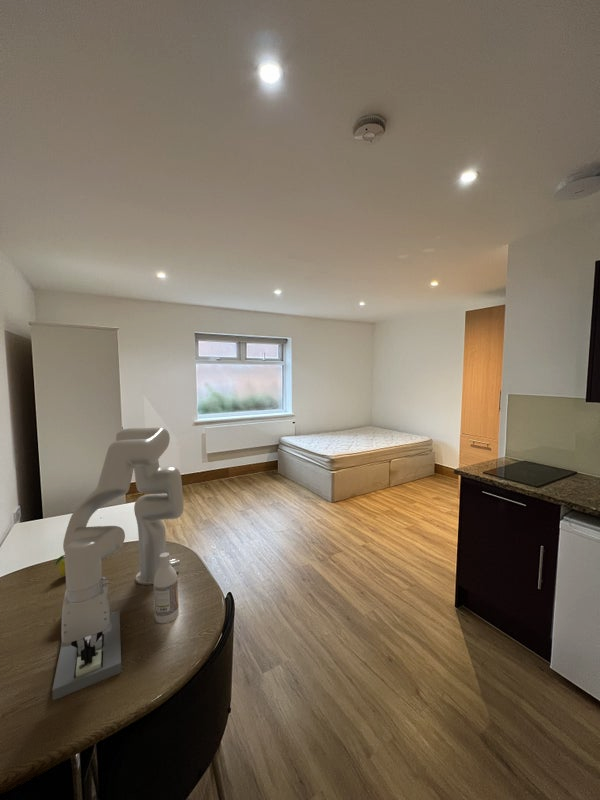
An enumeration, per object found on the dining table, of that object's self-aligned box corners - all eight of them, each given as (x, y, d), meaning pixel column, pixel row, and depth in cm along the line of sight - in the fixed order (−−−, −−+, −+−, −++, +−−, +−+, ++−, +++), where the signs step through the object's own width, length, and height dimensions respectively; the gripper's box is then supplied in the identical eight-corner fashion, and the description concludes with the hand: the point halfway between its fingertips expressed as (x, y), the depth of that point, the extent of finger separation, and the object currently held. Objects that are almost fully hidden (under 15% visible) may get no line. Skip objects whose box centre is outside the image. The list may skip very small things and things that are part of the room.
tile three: (101, 659, 85) (101, 648, 85) (101, 674, 81) (100, 662, 81) (78, 668, 83) (77, 656, 82) (76, 684, 78) (75, 672, 78)
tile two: (102, 637, 92) (101, 626, 92) (101, 649, 87) (101, 638, 87) (80, 645, 89) (79, 633, 89) (78, 658, 85) (78, 646, 84)
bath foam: (179, 619, 100) (177, 556, 99) (155, 627, 97) (152, 562, 96) (177, 606, 106) (175, 547, 106) (154, 613, 103) (152, 552, 103)
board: (119, 617, 102) (119, 610, 102) (121, 672, 82) (121, 662, 82) (65, 636, 95) (64, 627, 94) (52, 700, 75) (52, 690, 75)
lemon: (55, 583, 121) (54, 557, 121) (58, 575, 126) (57, 550, 126) (77, 577, 124) (76, 552, 124) (79, 570, 130) (77, 546, 129)
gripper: (118, 573, 88) (121, 638, 88) (50, 591, 80) (54, 662, 81) (119, 587, 81) (122, 657, 82) (44, 608, 74) (49, 686, 74)
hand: (88, 660), depth 81 cm, fingers closed
